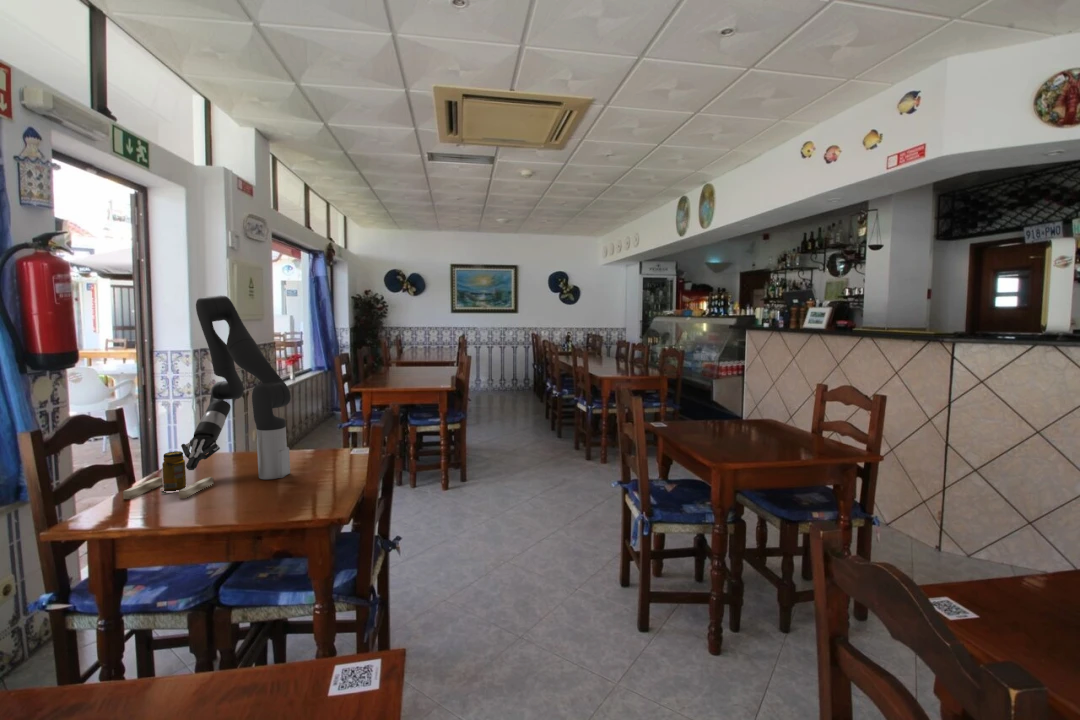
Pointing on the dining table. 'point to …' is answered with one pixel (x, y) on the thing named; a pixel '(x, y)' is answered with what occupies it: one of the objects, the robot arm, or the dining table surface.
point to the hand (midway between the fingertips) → (189, 469)
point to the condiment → (173, 472)
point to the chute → (158, 482)
